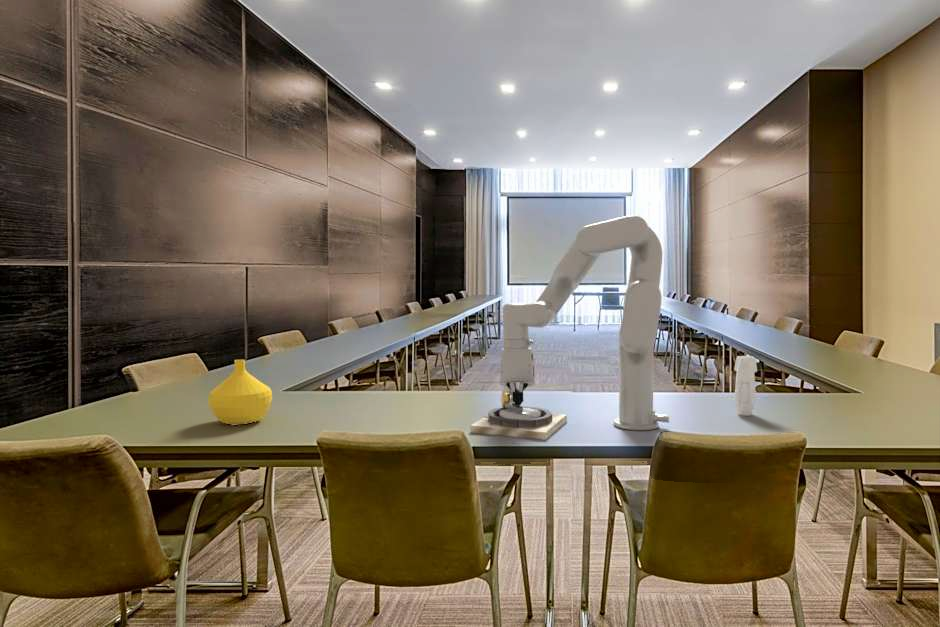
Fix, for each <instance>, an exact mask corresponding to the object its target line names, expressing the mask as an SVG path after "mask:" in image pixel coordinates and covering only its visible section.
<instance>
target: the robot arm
mask: <svg viewBox="0 0 940 627" xmlns="http://www.w3.org/2000/svg"><path fill="white" fill-rule="evenodd" d="M575 236H576V237H575V239H574V241H573V242H572V244H571V245H570V247H569V248H568V249H567V250H566V253H565V254H564V255H563V256H562V258H561V259H560V261H559V262H558V264H557V265H556V267H555V269H554V270H553V273H552V275H551V276H552V277H551V279H550V280H549V281H548V282H549V283H547V285H546V287H545V288H544V290H543V291H542V293H541V295H540V296H539V297H538V298H537V300H536V301H535V302H533V303H524V302H509V303H505V304H503V307H502V332H503V334H502V335H503V347H502V348H501V352H500V360H499V379H500V382H499V385H501V386H503V385H504V386H507V387H508V388H509V389H510V390H511V392H512V394H513V402H514V404H516V405H520V406H521V405H522V404H523V402H524V391H525V389H527V388H528V387H532V386H535V384H536V381H535V378H536V371H535V358H534V354H533V353H534V352H533V349H532V348H531V347H530V346H532V345H533V346H534V343H535V342H534V340H531V339H530V338H529V328H538V329H539V328H545V327H547V326H548V325H549V324H550V323H552V322H553V320H554V319H555V318H556V316H557V315H558V313H559V312H560V311H561V309H562V308H563V307H564V305H566V302H567V300H568V299H569V298H570V297H571V295H572V294H574V291H575V290H576V289H577V288H578V287H579V286H580V284H581V283H582V281H583V280H584V279H585V277H586V275H587V274H588V273H589V271H590V270H591V269H592V267H593V266H594V264H595V263H596V261H598V259H599V257H600V256H601V255H602V254H604V253H609V252H614V251H619V250H623V249H627V248H628V249H629V250H630V254H631V261H630V270H629V276H628V283H627V287H626V291H625V295H624V298H625V299H624V305H623V313H622V319H621V320H622V321H621V325H620V327H619V333H618V335H619V336H618V342H619V344H618V345H619V372H618V374H619V375H618V376H619V379H618V380H619V381H618V382H619V383H618V384H619V386H618V387H619V390H618V391H619V394H618V395H619V396H618V397H619V398H618V400H619V402H618V408H619V409H618V417H617V418H615V419H613V425H614V426H615V427H617V428H620V429H624V430H629V431H630V430H631V431H651V430H655V429H658V428H659V422H661V423H668V424H669V422H670V415H666V414H663V413H662V414H660V413H659V414H658V413H657V412H656V409H655V408H654V374H655V372H654V369H655V368H654V366H655V364H654V358H655V357H654V345H655V343H656V338H657V332H658V327H659V322H660V321H659V320H660V313H661V307H662V292H661V290H660V285H661V284H660V283H661V277H662V276H661V275H662V265H663V249H662V244H661V241H660V239H659V237H658V235H657V234H656V232H655V231H654V230H653V229H652V228H651V227H649V225H648V223H647V221H646V220H645V219H644V218H643V217H641V216H639V215H633V214H631V215H626V216H625V215H624V216H622V217H616V218H613V219H609V220H606V221H600V222H597V223H592V224H587V225H584V226H583V227H582V228H580V229H579V231H578V232H577V234H576V235H575ZM516 382H519V390H517V387H516Z"/></svg>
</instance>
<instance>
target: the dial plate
mask: <svg viewBox="0 0 940 627" xmlns="http://www.w3.org/2000/svg"><path fill="white" fill-rule="evenodd" d="M520 406H521V405H520ZM521 407H523V408H532V409H536V410H539V411H540V412H541V417H539V418H534V419H507V418H502V417H499V412H500V411H501V410H503V409H507V408H505V407H498V408H494V409H492V410H490V411H488V412H487V413H488V414H487V415H484V416H483V418H480V419H479V420H477V421H476V422H473V423H472V424H470V427H469V428H470V430H469V431H470V433H472V434H473V433H475V434H483V435H491V436H493V435H494V436H501V435H503V436H504V437H513V438H525V439H534V440H543V441H545V440H546V441H547V440H548V439H549V438H550V437H551V436H552V435H553V434H554V433H556V431H558V430H559V429H561V427H562V426H564V424H566V423H567V422H568V420H567V418H568V414H564V413H563V414H562V413H561V414H560V413H552V412H551V410H549V409H545V408H541V407H537V406H536V407H535V406H524V405H523V406H521ZM503 436H502V437H503Z"/></svg>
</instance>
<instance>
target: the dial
mask: <svg viewBox="0 0 940 627" xmlns="http://www.w3.org/2000/svg"><path fill="white" fill-rule="evenodd" d="M501 396H502V403H501V408H503V407H505V408H507V409H503V410H501V411H500V412H499V417H502V418H507V419H534V418H539V417H541V412H540V411H539V410H536V409H532V408H523V407H521V405H520V406H519V405H516V404H513V403H511V402H510V393H502V392H501Z"/></svg>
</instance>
